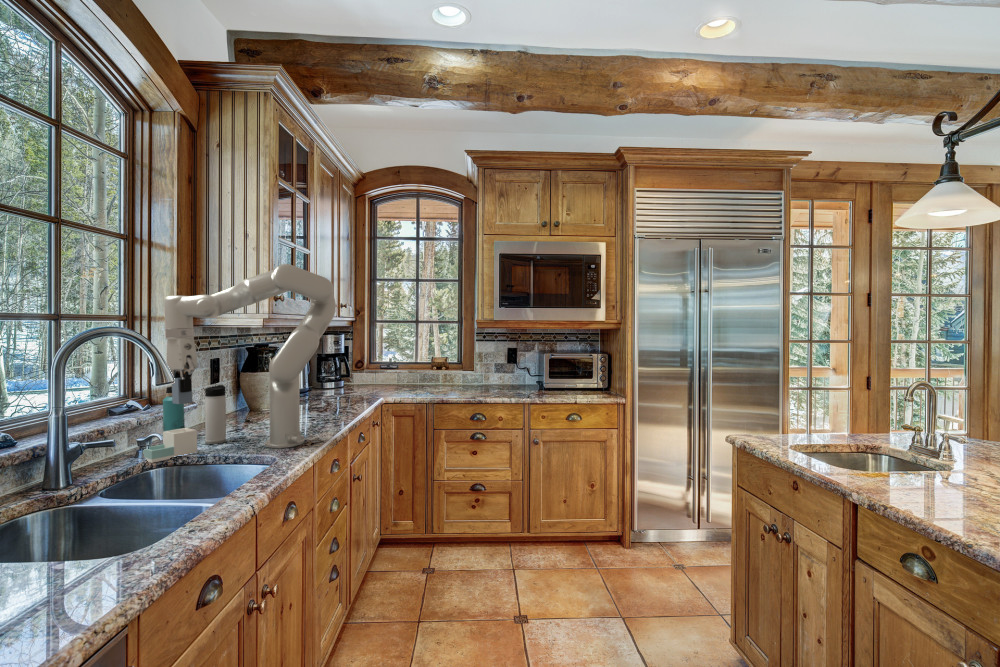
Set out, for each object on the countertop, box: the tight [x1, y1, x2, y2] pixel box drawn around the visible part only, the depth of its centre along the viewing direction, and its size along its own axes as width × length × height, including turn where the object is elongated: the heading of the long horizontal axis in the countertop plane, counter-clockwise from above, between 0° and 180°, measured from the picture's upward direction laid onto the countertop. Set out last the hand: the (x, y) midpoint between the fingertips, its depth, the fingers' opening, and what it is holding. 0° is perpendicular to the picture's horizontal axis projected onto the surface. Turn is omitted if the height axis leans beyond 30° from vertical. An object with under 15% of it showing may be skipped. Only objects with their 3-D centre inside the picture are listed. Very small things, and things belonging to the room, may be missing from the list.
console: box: [143, 427, 198, 464], centre depth 152 cm, size 7×13×8 cm, turn 149°
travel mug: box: [204, 384, 227, 445], centre depth 170 cm, size 6×7×20 cm
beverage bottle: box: [162, 386, 186, 433], centre depth 169 cm, size 6×7×20 cm
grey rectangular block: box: [171, 377, 193, 405], centre depth 155 cm, size 4×4×8 cm
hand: (182, 390), depth 155 cm, fingers closed on grey rectangular block, 4 cm apart
